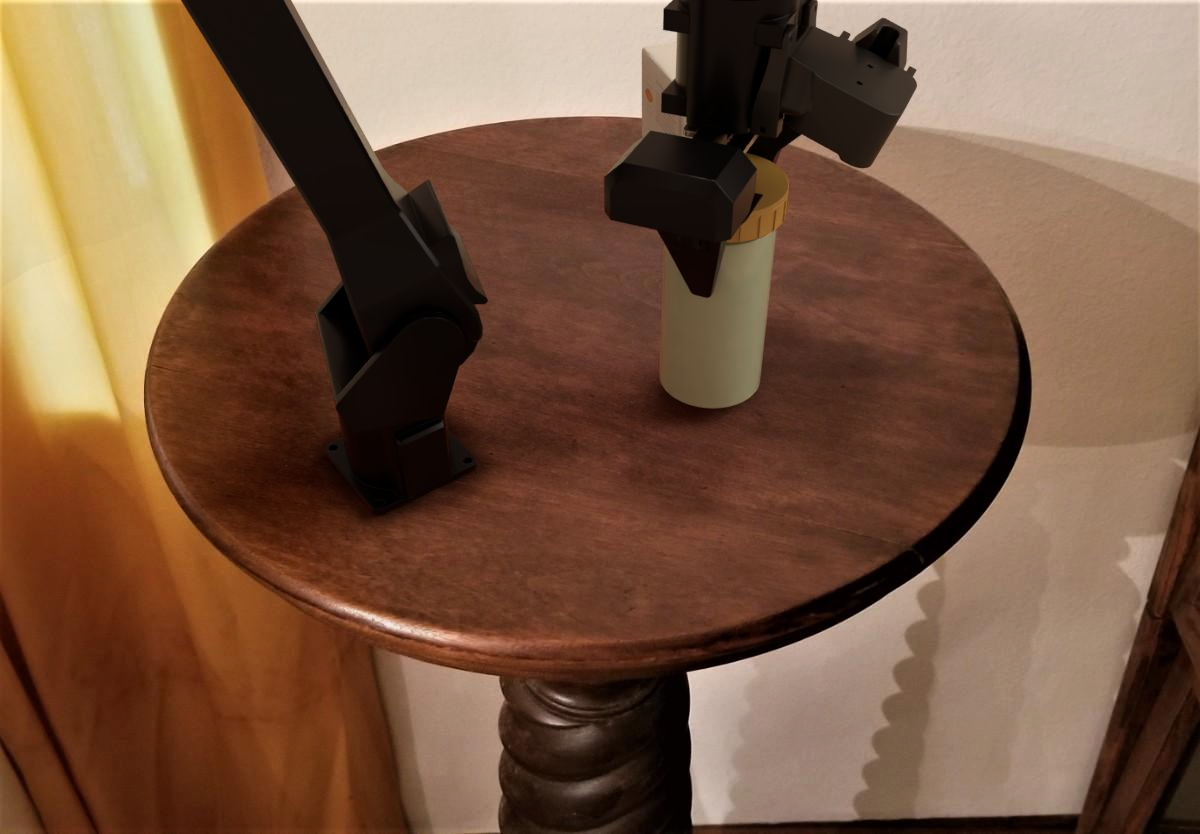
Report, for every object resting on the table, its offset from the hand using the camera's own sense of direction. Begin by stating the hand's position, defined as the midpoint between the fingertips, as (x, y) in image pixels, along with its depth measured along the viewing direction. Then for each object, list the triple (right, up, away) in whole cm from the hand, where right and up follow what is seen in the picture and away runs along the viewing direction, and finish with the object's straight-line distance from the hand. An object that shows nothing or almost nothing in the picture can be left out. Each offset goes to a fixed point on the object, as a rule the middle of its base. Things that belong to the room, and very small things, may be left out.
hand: (721, 264), depth 63 cm
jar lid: (0, +4, -3) cm, 5 cm away
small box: (0, +8, +24) cm, 25 cm away
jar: (0, -6, +5) cm, 8 cm away
